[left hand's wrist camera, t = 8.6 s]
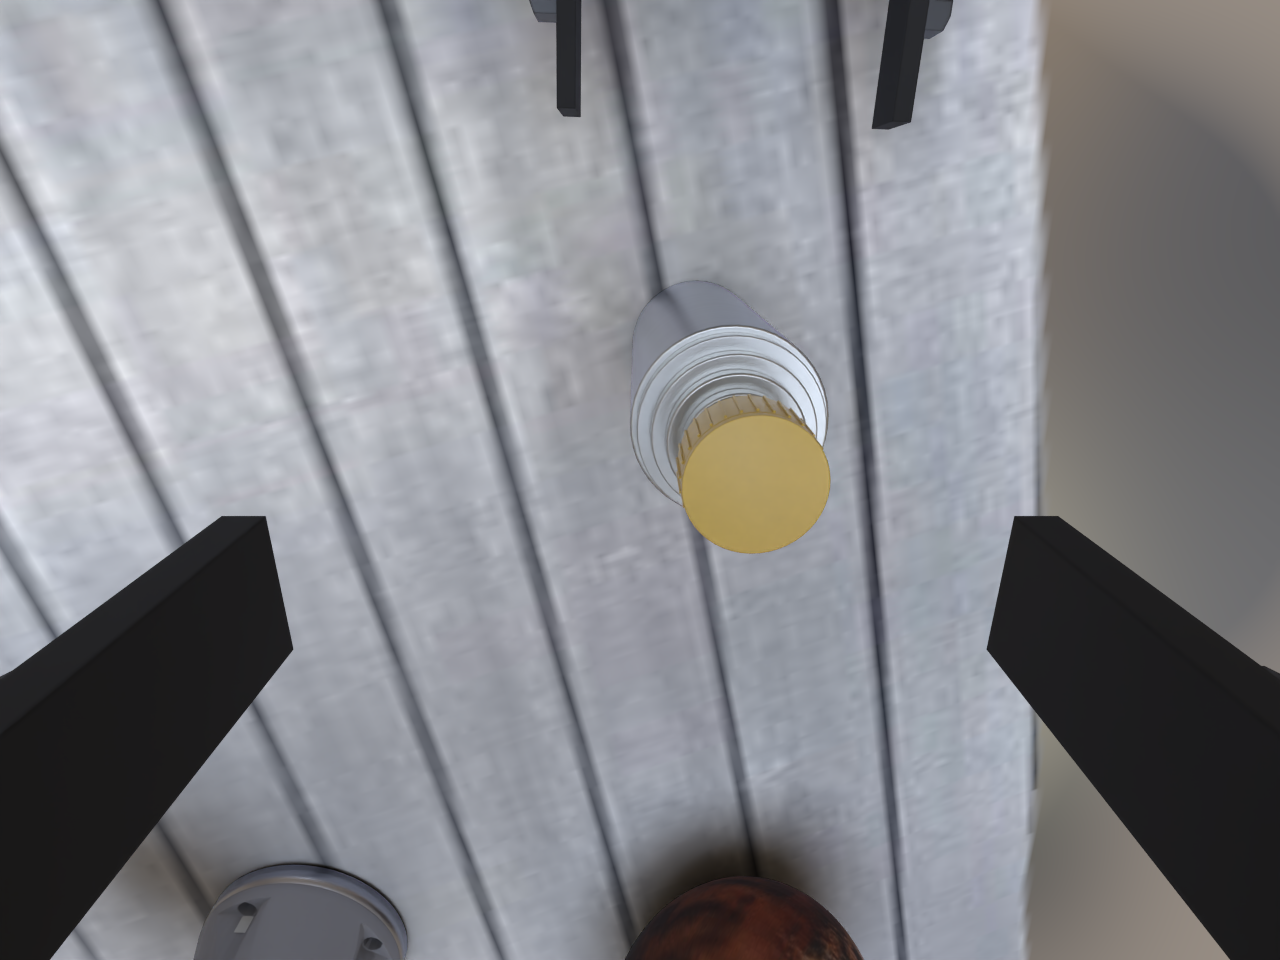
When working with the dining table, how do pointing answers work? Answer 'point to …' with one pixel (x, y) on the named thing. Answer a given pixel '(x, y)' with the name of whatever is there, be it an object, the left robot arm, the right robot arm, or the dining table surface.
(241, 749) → the dining table surface
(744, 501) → the cap
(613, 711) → the dining table surface
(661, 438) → the bottle
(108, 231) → the dining table surface
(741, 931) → the cat face ball
